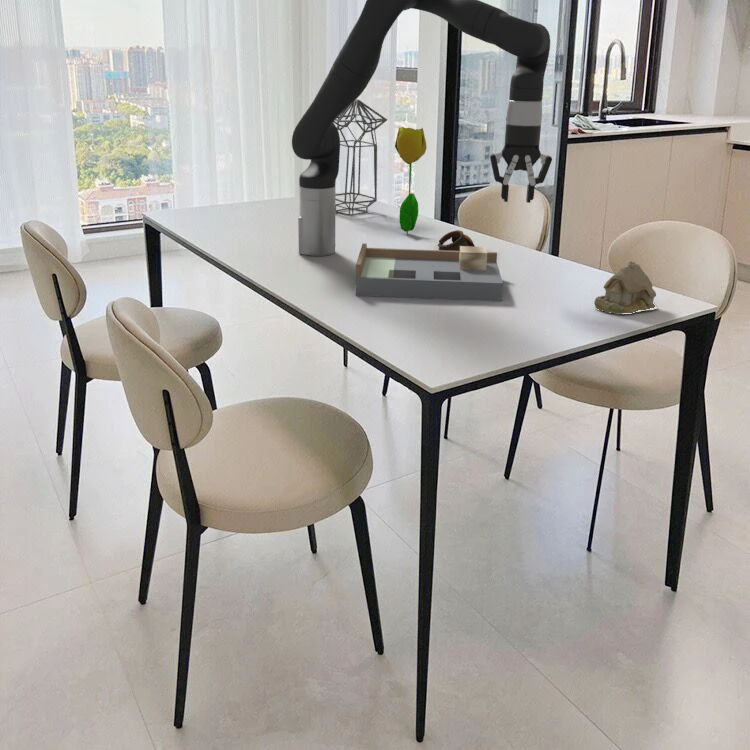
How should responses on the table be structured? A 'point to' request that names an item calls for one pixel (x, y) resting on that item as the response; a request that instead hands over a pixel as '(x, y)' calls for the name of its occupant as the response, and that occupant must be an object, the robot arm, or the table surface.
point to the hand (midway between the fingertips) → (517, 201)
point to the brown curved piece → (455, 241)
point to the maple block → (472, 258)
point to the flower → (410, 150)
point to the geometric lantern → (342, 114)
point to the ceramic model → (627, 291)
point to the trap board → (425, 275)
